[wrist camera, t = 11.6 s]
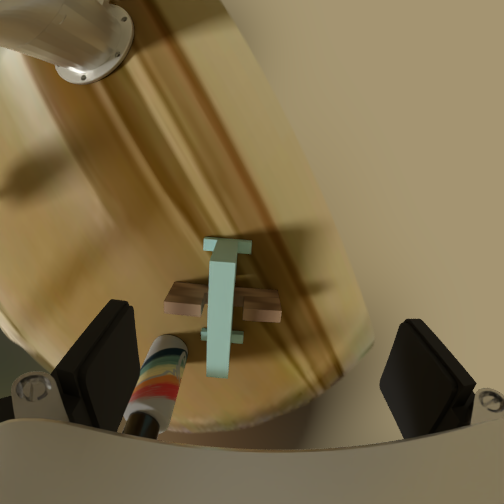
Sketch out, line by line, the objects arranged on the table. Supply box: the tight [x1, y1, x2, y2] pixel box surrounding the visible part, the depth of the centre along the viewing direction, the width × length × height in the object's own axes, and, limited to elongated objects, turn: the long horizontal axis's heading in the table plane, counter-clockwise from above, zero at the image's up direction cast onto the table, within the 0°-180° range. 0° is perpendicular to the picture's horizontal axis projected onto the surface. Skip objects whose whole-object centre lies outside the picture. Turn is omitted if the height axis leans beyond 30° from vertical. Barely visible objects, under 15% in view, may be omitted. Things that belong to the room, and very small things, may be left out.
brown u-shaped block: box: [164, 282, 282, 323], centre depth 40 cm, size 14×2×6 cm, turn 85°
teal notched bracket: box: [201, 237, 252, 378], centre depth 38 cm, size 15×6×9 cm, turn 175°
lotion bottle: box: [122, 335, 188, 440], centre depth 36 cm, size 6×6×20 cm
